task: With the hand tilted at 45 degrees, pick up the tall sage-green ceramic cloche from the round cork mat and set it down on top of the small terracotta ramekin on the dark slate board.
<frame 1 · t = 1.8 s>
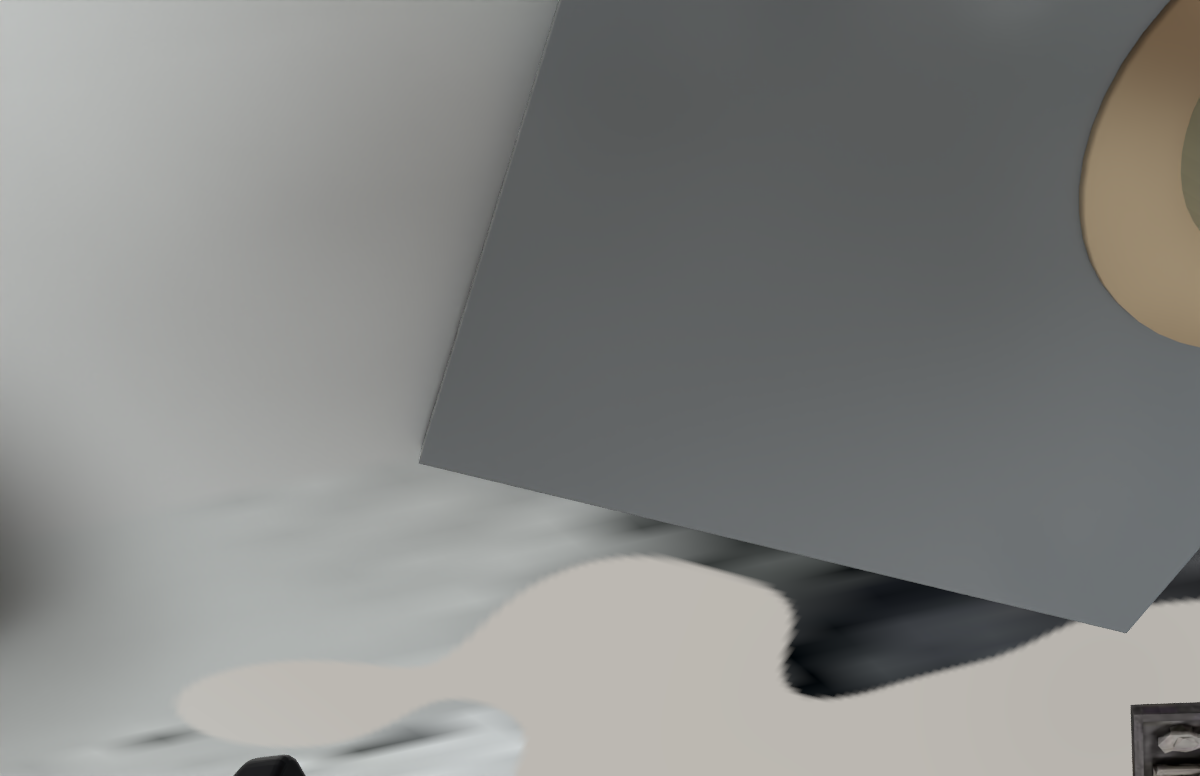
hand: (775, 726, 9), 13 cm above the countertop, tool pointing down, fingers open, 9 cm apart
slate board: (1068, 73, 19), on the countertop
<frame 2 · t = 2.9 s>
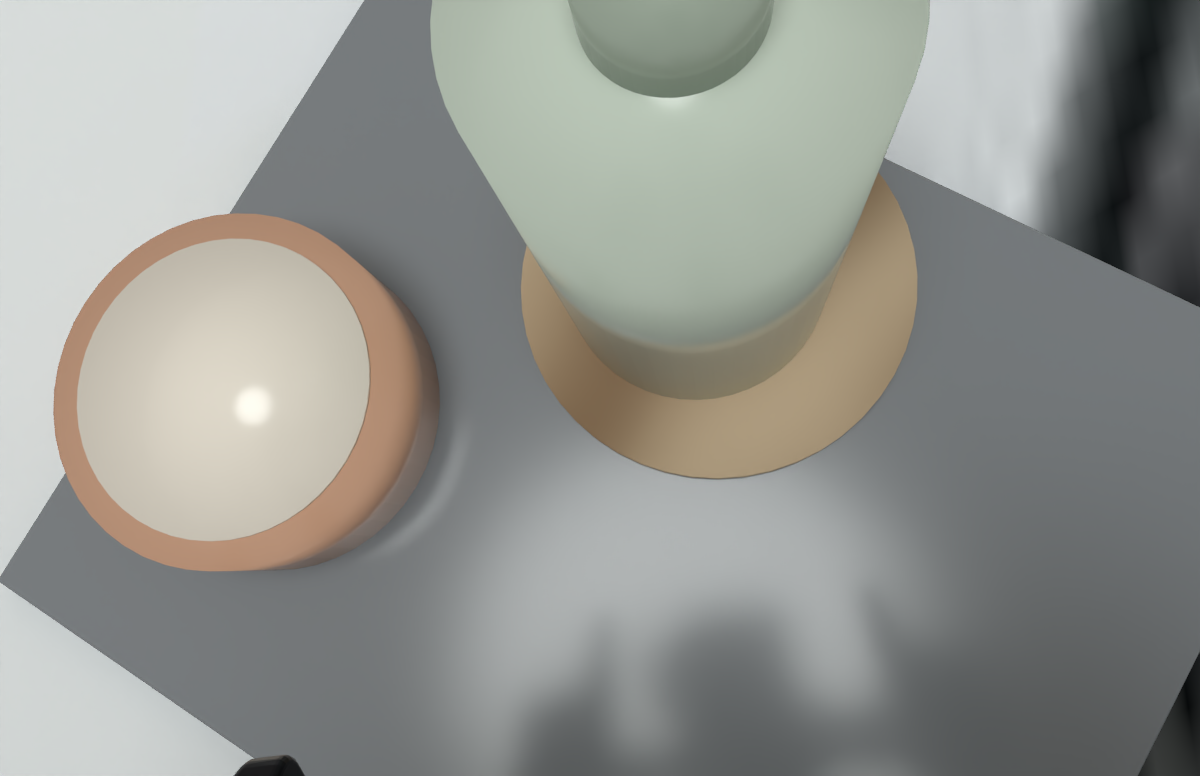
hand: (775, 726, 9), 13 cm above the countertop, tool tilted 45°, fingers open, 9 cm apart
ramekin: (284, 408, 24), resting on slate board
cork mat: (714, 284, 23), resting on slate board
slate board: (628, 485, 23), on the countertop
cloche: (695, 271, 23), point 1 cm above the countertop, touching cork mat
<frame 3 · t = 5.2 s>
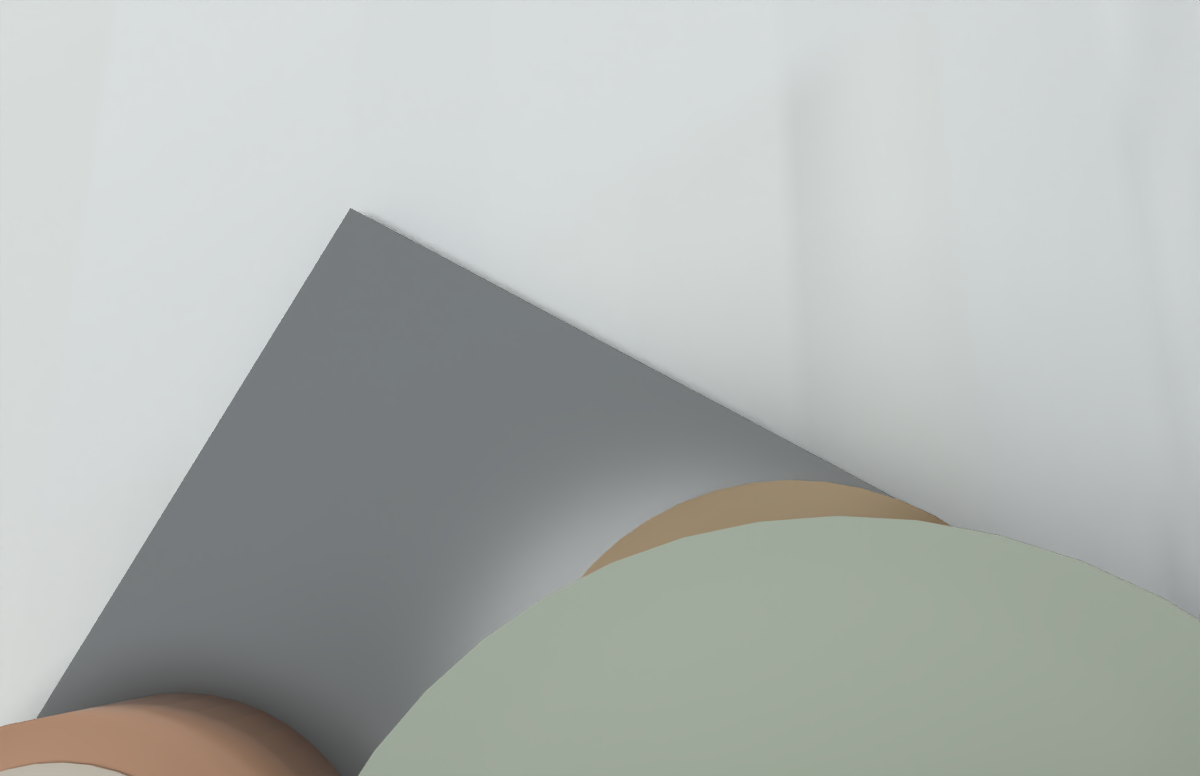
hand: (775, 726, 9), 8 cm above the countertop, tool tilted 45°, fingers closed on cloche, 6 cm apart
cork mat: (798, 771, 15), resting on slate board
cloche: (770, 757, 15), point 1 cm above the countertop, touching cork mat, gripper
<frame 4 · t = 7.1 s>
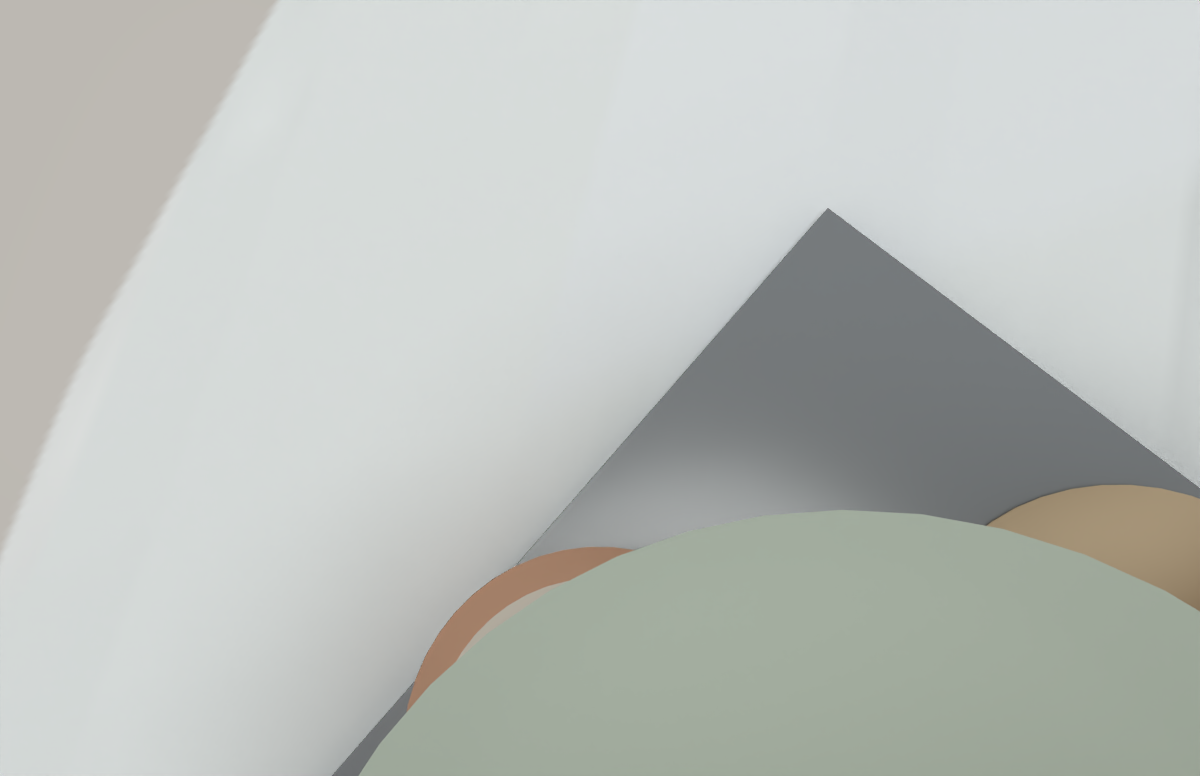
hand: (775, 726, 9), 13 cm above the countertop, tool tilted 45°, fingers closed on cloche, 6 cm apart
ramekin: (616, 727, 21), resting on slate board
cork mat: (1130, 705, 20), resting on slate board
cloche: (771, 754, 15), point 7 cm above the countertop, touching gripper
when the fingers open (11 cm above the countertop, at t = 8.5 s): cloche stays where it is, resting on ramekin.
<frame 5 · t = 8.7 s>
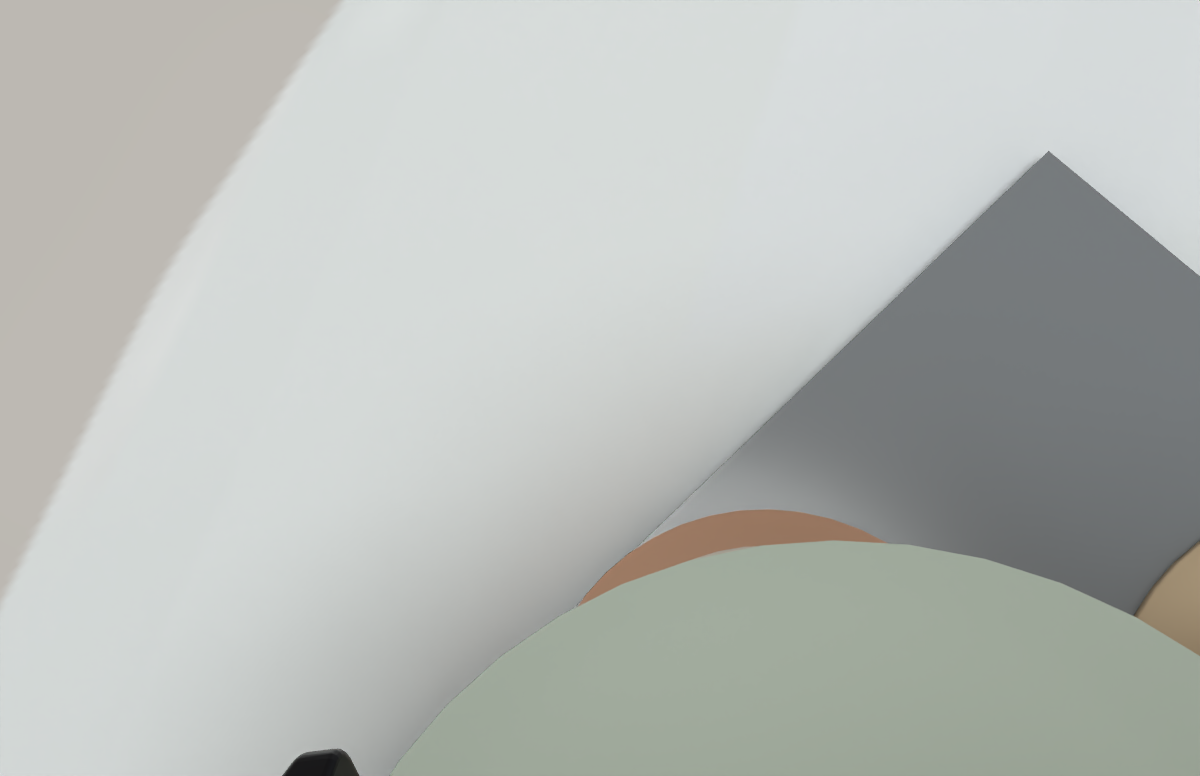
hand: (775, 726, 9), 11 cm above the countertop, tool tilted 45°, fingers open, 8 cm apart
ramekin: (763, 723, 18), resting on slate board
cloche: (770, 758, 15), point 4 cm above the countertop, touching ramekin
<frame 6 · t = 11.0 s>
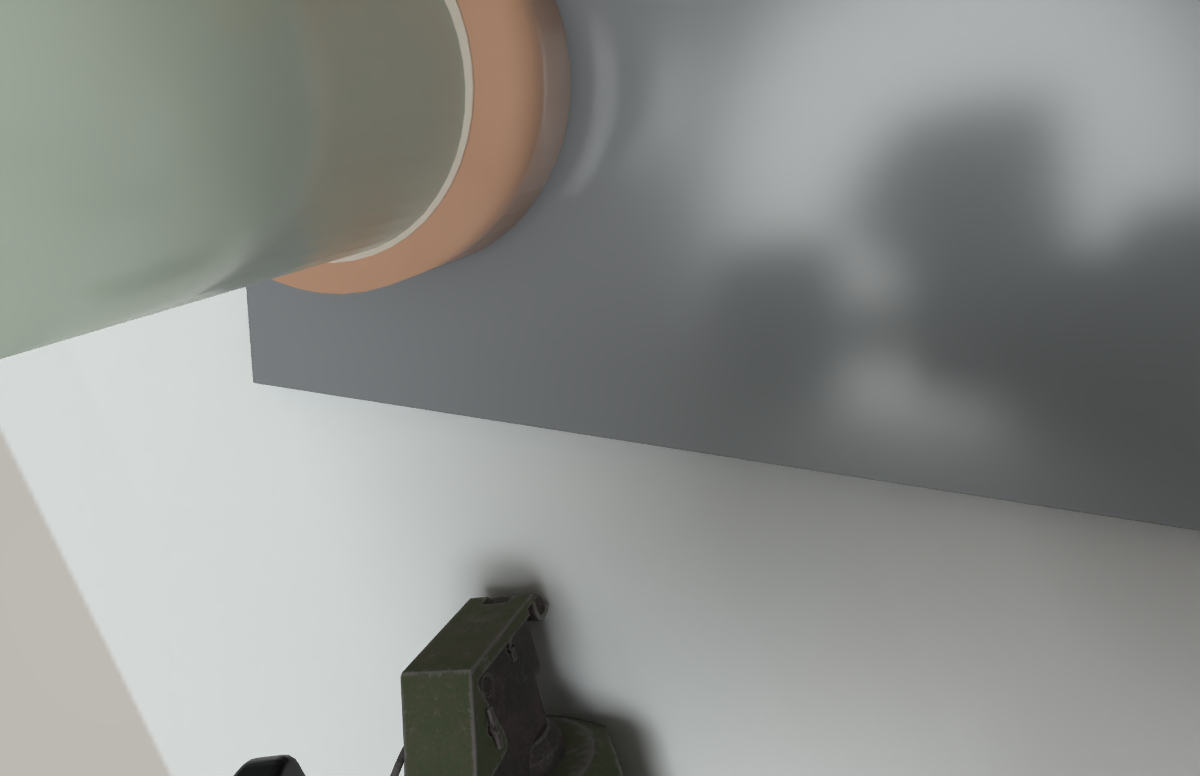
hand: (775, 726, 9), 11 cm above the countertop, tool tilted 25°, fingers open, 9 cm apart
ramekin: (395, 80, 20), resting on slate board
cloche: (309, 85, 17), point 4 cm above the countertop, touching ramekin
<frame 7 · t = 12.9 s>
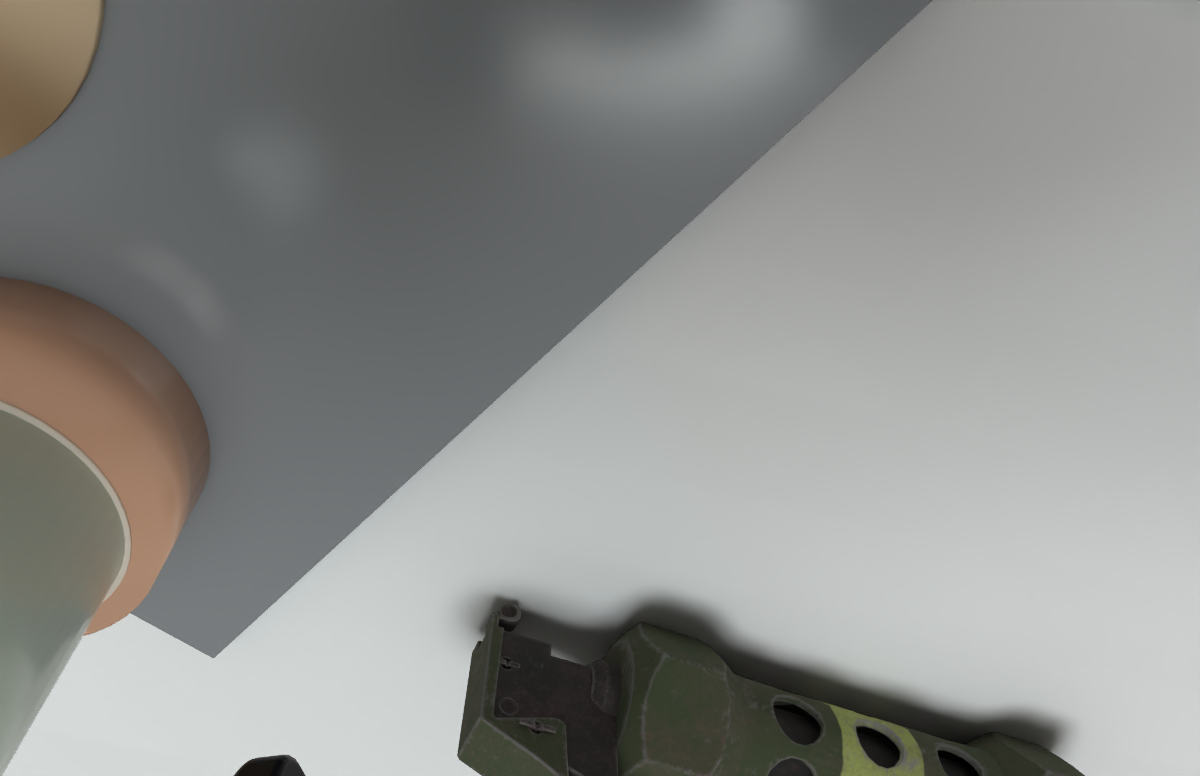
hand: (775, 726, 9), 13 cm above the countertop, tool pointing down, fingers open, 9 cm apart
ramekin: (39, 425, 22), resting on slate board
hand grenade: (776, 690, 29), on the countertop
slate board: (126, 87, 19), on the countertop
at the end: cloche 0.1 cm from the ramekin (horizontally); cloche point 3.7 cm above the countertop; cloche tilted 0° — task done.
